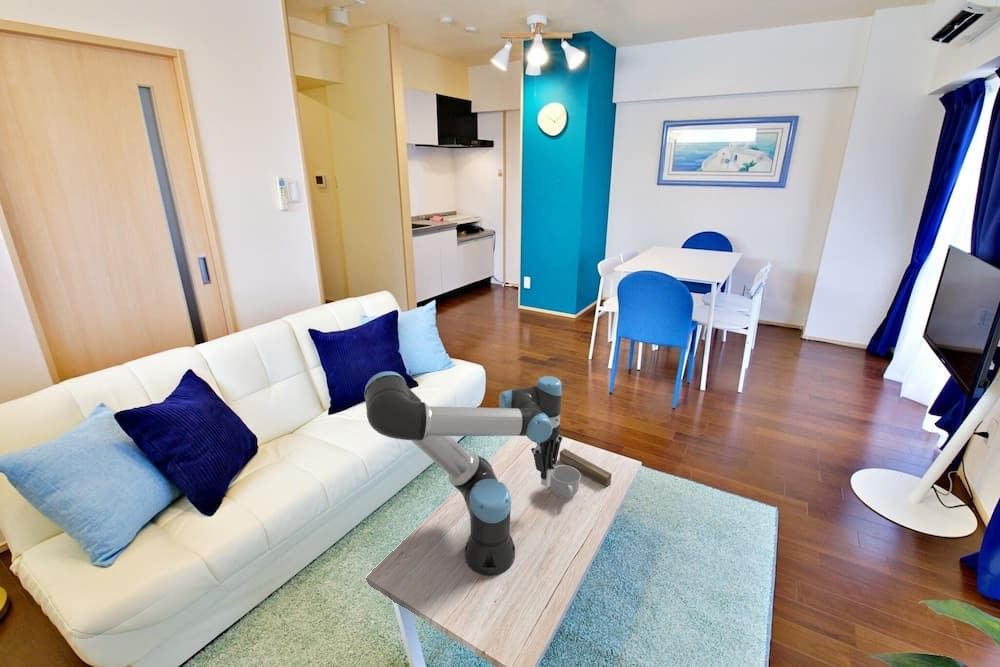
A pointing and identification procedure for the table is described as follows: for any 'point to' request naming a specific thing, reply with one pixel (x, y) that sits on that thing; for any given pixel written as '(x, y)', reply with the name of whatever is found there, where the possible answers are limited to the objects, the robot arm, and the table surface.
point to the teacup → (565, 480)
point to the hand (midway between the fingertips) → (545, 484)
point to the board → (585, 468)
